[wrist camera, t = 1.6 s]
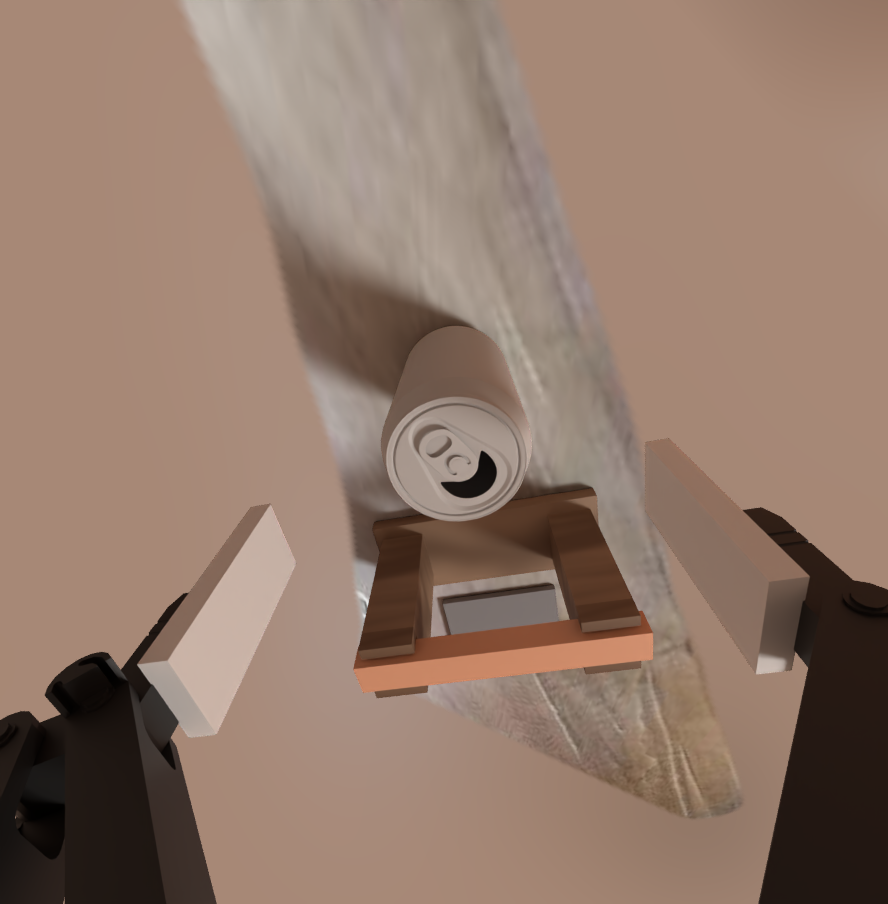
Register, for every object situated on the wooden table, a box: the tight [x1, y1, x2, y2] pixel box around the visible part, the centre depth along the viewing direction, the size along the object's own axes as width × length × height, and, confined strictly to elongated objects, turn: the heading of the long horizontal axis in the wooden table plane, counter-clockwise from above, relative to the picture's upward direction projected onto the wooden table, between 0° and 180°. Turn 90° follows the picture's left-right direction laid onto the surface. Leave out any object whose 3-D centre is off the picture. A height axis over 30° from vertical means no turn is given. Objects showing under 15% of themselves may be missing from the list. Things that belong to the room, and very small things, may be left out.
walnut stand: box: [358, 488, 641, 698], centre depth 30 cm, size 6×16×11 cm, turn 101°
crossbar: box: [354, 611, 653, 693], centre depth 25 cm, size 2×16×2 cm, turn 101°
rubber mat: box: [443, 585, 559, 635], centre depth 39 cm, size 9×9×1 cm
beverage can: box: [381, 326, 532, 521], centre depth 24 cm, size 6×6×12 cm
